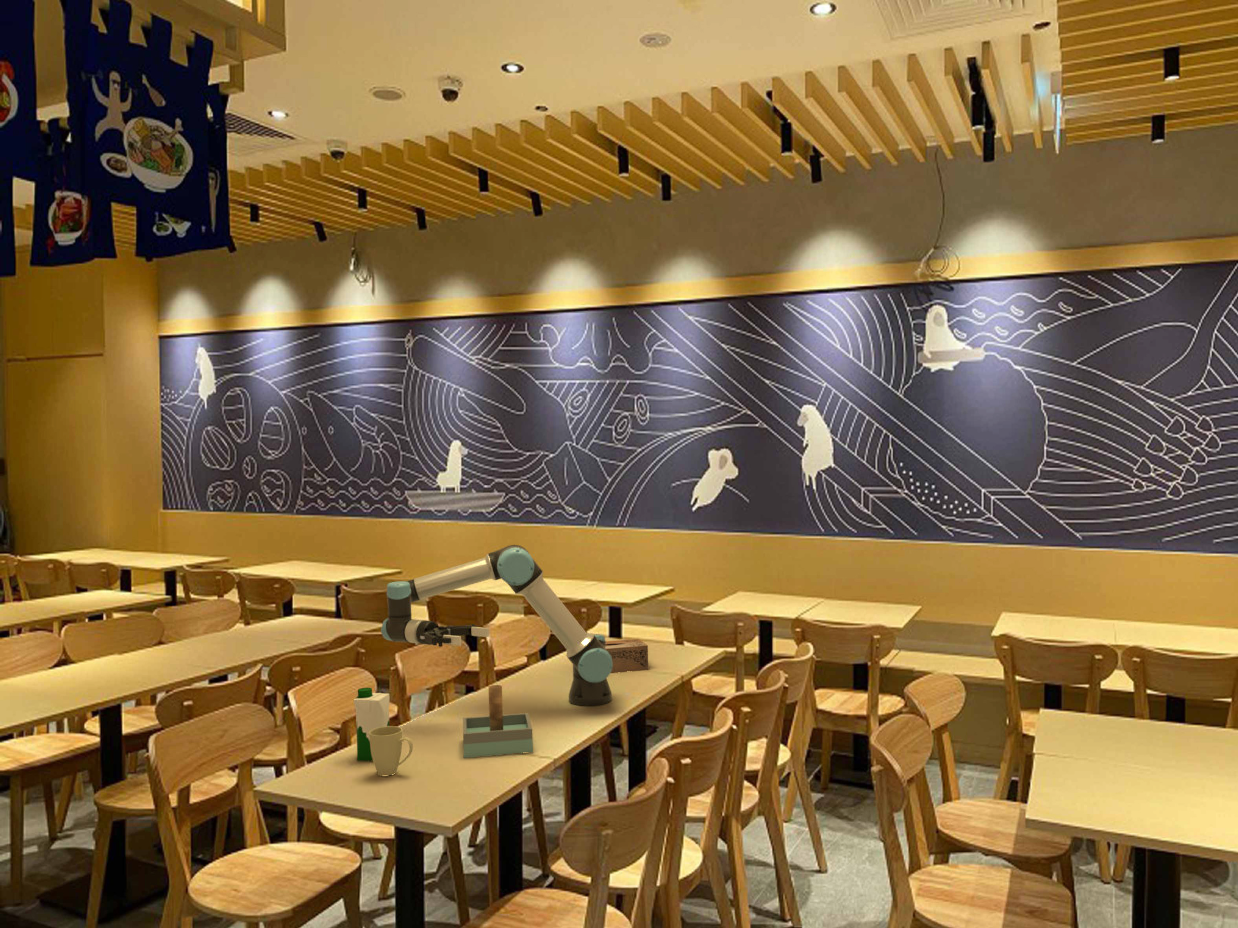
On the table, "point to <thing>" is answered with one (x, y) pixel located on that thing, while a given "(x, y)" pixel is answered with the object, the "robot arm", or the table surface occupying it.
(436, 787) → the table surface
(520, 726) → the box
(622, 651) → the tissue box cover
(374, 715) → the milk carton
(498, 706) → the peg
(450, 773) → the table surface
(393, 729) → the mug
